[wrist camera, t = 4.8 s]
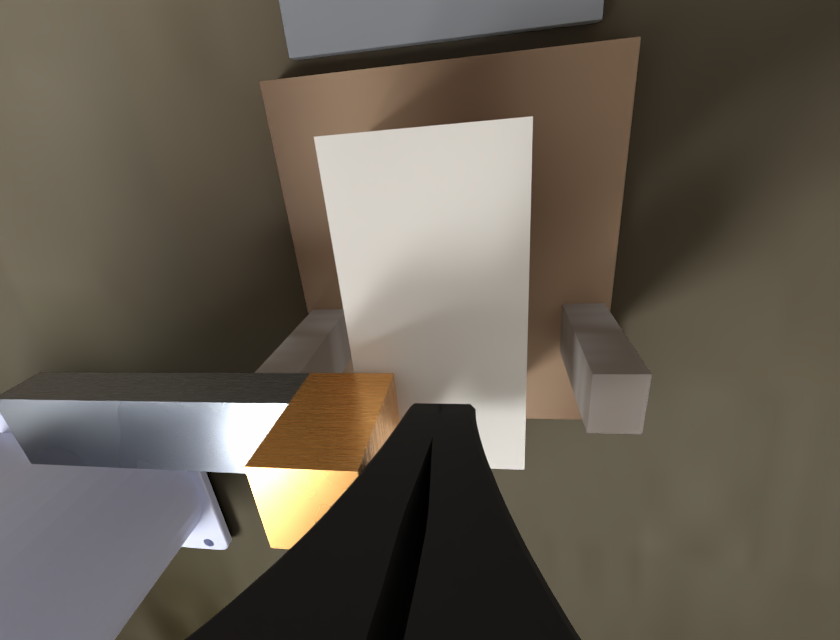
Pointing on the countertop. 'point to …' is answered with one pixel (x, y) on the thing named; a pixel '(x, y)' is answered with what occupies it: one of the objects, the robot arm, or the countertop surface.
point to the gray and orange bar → (215, 430)
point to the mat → (418, 22)
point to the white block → (438, 265)
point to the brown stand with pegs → (550, 207)
